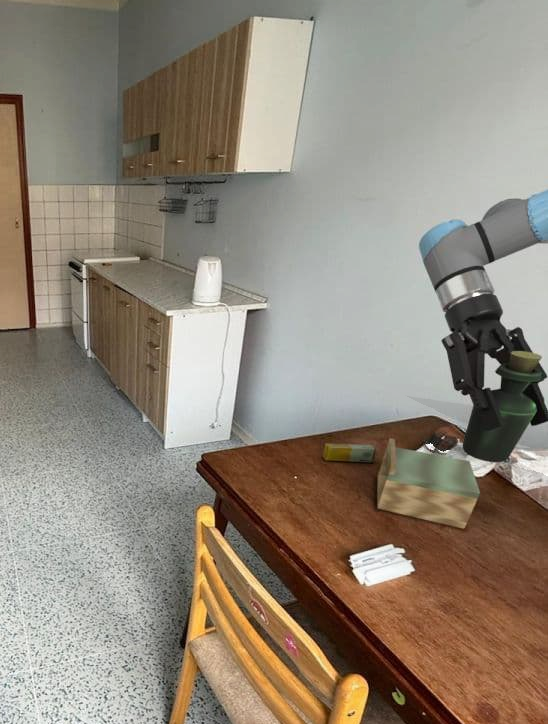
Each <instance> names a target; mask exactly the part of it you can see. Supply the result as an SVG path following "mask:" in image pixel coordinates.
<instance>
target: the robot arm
mask: <svg viewBox="0 0 548 724" xmlns="http://www.w3.org/2000/svg"><path fill="white" fill-rule="evenodd" d="M537 244H545V245H546V244H547V245H548V189H545V190H544V191H541V192H539V193H534V194H532V195H531V196H530V197H527V198H524V199H523V198H506V199H504V200H501V201H499V202H497V203H495V204H494V205H491V207H490V208H489V209H488V210H486V212H485V213H484V215H483V216H482V218H481V220H480V221H476V222H475V223H471V224H470V225H468V224H466V222H465V221H464V220H462V219H451V220H449V221H447V222H446V221H444V222H441V223H439V224H436V225H435V226H433V227H432V228H430V229H429V230H427V232H425V233H424V234H423V236H422V237H421V238H420V240H419V243H418V249H419V252H420V255H421V259H422V263H423V265H424V268H425V270H426V273H427V275H428V277H429V280H430V282H431V285H432V288H433V289H434V292H435V294H436V296H437V299H438V302H439V305H440V307H441V309H442V312H443V313H444V318H445V322H446V324H447V326H448V329H449V331H450V332H451V333H450V334H448V335H447V336H444V337H443V338H442V339H441V344H442V345H443V348H444V349H445V350H446V354H447V359H448V364H449V369H450V374H451V379H452V385H453V389H454V390H455V391H456V392H460V394H461V395H462V396H464V397H465V396H468V395H469V397H470V400H471V403H472V406H473V405H474V408H475V409H476V411H478V412H479V415H480V418H481V420H482V423H483V425H484V428H485V431H490V430H493V429H496V428H498V427H501V426H504V425H505V424H504V422H503V419H502V417H501V414H500V412H499V409H498V407H497V404H496V402H495V399H494V397H493V394H492V392H491V390H492V389H491V387H485V366H486V364H485V363H486V362H485V361H486V359H485V358H486V355H488V356H489V357H490V358H491V359H495V360H496V361H497V362H498V363H499V365H501V364H506V363H510V356H511V352H513V351H524V352H531V353H534V352H533V350H532V349H531V347H530V345H529V343H528V341H527V340H526V338H525V334H524V331H523V329H522V328H521V327H520V326H516V327H515V328H513V329H507V328H506V327H505V326H504V325H503V324H502V322H501V318H502V316H503V314H504V310H503V308H502V306H501V303H500V301H499V299H498V296H497V295H496V294H494V293H495V287H494V285H493V284H492V282H491V280H490V277H489V275H488V272H487V271H486V269H485V266H487V265H489V264H492V263H494V262H496V261H498V260H501V259H503V258H506V257H508V256H511V255H513V254H515V253H518V252H520V251H522V250H524V249H528V248H530V247H532V246H534V245H535V246H536V245H537ZM502 347H503V348H502ZM535 368H537V369H539V370H540V371H541V372H542V379H541V380H540V381H535V382H531V383H530V384H529V385H528V386H527V387H526V389H525V390H524V391H523V392H522V393H523V394H525V395H526V396H527V397H529V398H530V399H531V400H533V401H534V403H535V404H536V408H537V411H536V413H535V415H534V416H533V418H532V420H531V421H530V423H529V424H530V426H531V427H535V426H539V425H542V424H545V423H548V408H547V405H546V403H545V397H544V395H543V393H542V390H541V388H540V386H539V383H541V382H544V381H545V380H546V379H547V378H548V374H547V373H546V371H545V369H544V368H543V366H542V365H541V363H540V361H539V362H538V364H537V365H536V366H535ZM484 387H485V388H484Z"/></svg>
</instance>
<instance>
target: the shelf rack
mask: <svg viewBox="0 0 548 724" xmlns="http://www.w3.org/2000/svg"><path fill="white" fill-rule="evenodd" d="M376 488H377V495H376V496H377V500H376V502H377V505H376V506H377V507H376V509H379V510H383V511H387V512H391V513H396V514H400V515H404V516H408V517H413V518H416V519H421V520H425V521H429V522H434V523H438V524H442V525H447V526H451V527H456V528H458V529H459V528H460V529H464V530H465V528H466V526H467V524H468V521H469V519H470V517H471V515H472V513H473V511H474V508H475V506H476V504H477V501H478V499H479V496H480V494H481V491H480V489H479V486H478V482H477V479H476V476H475V474H474V470H473V467H472V463H471V461H470V460H467V459H461V458H457V457H450V456H445V455H441V454H434V453H428V452H423V451H417V450H412V449H407V448H401V447H397V446H396V440H395V438H391V437H390V438H389V439H388V443H387V446H386V449H385V453H384V456H383V459H382V462H381V465H380V469H379V471H378V475H377V487H376Z"/></svg>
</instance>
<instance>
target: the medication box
mask: <svg viewBox="0 0 548 724" xmlns="http://www.w3.org/2000/svg"><path fill="white" fill-rule="evenodd" d="M376 451H377V447H375V446H374V445H372V444H354V443H353V444H352V443H351V444H350V443H325V444H324V449H323V454H322V458H323V459H324V460H325V461H329V462H331V461H333V462H351V463H352V462H353V463H354V462H355V463H372V464H374V461H375V460H374V459H375V455H376Z"/></svg>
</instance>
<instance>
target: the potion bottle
mask: <svg viewBox="0 0 548 724" xmlns="http://www.w3.org/2000/svg"><path fill="white" fill-rule="evenodd" d="M542 358H543V356H542V355H541V354H538V353H534V352H533V353H531V352H524V351H513V352H511V356H510V363H506V364H499V366H498V367H497V368H496V369H495V370H494V373H495V374H497V376H500V385H499V387H500V388H496V389H495V388H494V389H491V392H492V394H493V397H494V399H495V402H496V404H497V407H498V409H499V412H500V414H501V417H502V419H503V422H504V424H505V425H504V426H501V427H498V428H496V429H493V430H490V431H485V428H484V425H483V423H482V420H481V418H480V415H479V412H478V411H476V409H475V408H474V405H473V404H472V409H471V413H470V416H469V419H468V424H467V426H466V431H465V432H466V434H465V438H464V442H463V443H462V446H461V447H462V450H463V452H464V453H465V454H466V453H467V454H468V456H470V457H471V458H474V459H476V460H480V461H483V462H488V463H501V462H502V463H503V462H505V461H507V460H508V459H509V458H510V456H511V454H512V453H513V451H514V450H515V448H516V446H517V445H518V443H519V441H520V439H521V438H522V436H523V435H524V433H525V432H526V430H527V429H528V426H529V425H530V424H531V423H530V421H531V420H532V418H533V416H534V415H535V413H536V411H537V408H536V404H535V403H534V401H533V400H531V399H530V398H529V397H527V396H526V395H525V394H523V393H522V392H523V391H524V390H525V389H526V387H527V386H528V385H529V384H530V383H531V382H535V381H540V380H541V379H542V372H541V371H540V370H539V369H537V368H535V366H536V365H537V364H538V362H539V363H540V361H541V359H542Z"/></svg>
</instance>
